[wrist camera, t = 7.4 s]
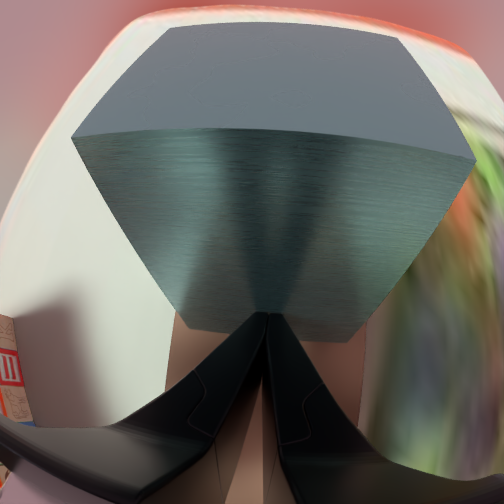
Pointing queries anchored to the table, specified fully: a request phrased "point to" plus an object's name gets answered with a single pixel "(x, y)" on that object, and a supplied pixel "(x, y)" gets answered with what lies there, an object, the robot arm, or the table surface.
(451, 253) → the table surface
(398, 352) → the table surface
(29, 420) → the stack of blocks
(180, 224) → the grey rectangular block
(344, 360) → the beam
